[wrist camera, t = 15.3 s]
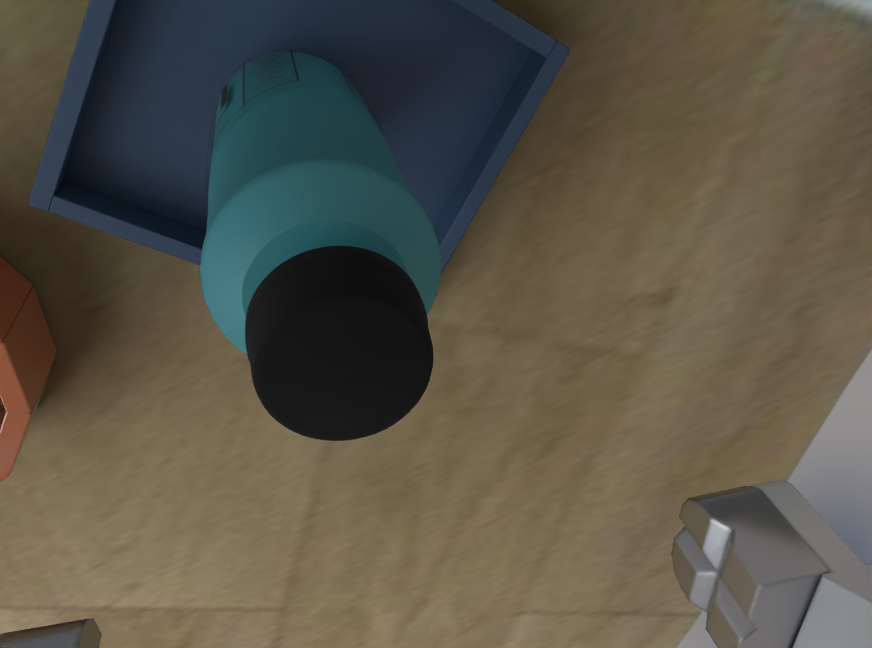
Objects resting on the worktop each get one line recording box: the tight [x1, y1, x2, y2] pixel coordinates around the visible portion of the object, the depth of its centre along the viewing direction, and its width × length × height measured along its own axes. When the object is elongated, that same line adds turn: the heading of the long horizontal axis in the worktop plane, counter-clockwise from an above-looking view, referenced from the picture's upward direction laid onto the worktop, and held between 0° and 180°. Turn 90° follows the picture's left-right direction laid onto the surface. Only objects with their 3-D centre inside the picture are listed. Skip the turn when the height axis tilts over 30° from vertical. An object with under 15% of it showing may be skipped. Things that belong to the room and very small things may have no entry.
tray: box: [28, 0, 570, 274], centre depth 31 cm, size 18×16×3 cm
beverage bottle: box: [200, 49, 441, 441], centre depth 23 cm, size 6×7×20 cm
